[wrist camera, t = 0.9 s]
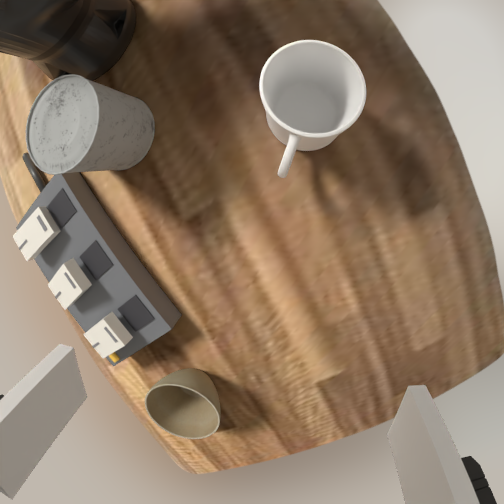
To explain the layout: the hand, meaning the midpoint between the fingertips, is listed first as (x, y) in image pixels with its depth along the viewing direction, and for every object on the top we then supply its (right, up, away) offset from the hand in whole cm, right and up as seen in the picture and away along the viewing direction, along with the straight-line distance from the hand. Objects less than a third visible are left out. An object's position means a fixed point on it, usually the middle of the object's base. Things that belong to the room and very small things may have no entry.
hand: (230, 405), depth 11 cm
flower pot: (-7, -13, +32) cm, 35 cm away
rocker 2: (-22, +1, +24) cm, 32 cm away
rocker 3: (-17, -5, +25) cm, 31 cm away
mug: (+6, +19, +22) cm, 30 cm away
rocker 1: (-27, +8, +23) cm, 36 cm away
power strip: (-23, +7, +28) cm, 37 cm away
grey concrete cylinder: (-15, +20, +24) cm, 35 cm away
